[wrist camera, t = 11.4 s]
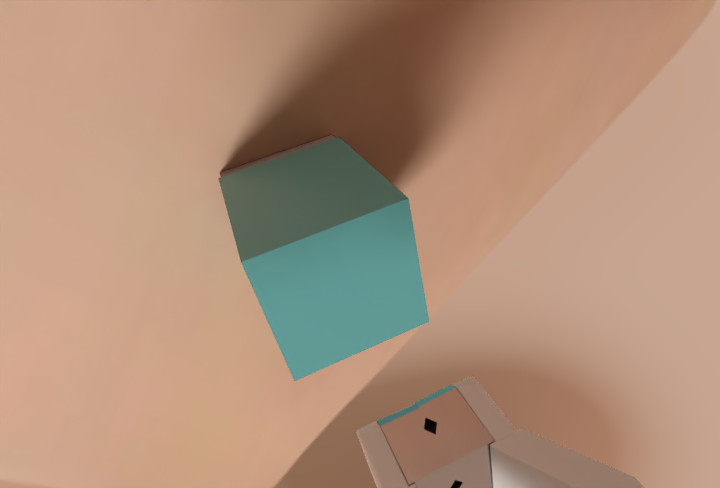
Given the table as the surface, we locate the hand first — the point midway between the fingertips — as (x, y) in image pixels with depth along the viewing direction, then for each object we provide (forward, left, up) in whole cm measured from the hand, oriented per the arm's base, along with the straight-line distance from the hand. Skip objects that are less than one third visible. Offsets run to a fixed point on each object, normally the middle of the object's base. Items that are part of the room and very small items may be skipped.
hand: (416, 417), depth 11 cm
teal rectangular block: (0, 0, -12) cm, 12 cm away
